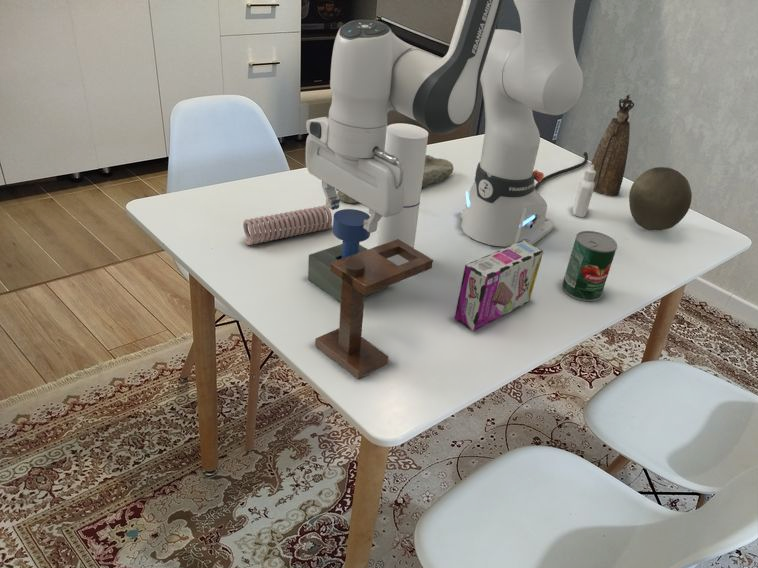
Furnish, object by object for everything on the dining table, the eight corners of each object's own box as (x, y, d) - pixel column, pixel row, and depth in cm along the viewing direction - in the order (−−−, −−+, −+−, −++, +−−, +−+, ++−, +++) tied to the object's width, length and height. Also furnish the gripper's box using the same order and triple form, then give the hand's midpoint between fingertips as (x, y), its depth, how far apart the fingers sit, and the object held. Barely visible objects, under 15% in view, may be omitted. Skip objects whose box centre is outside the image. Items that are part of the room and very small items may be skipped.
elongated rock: (324, 197, 146) (353, 217, 142) (324, 175, 142) (355, 195, 138) (433, 162, 168) (461, 178, 164) (436, 142, 164) (465, 158, 160)
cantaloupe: (620, 211, 163) (638, 153, 154) (676, 224, 162) (698, 166, 153) (619, 235, 152) (639, 173, 143) (679, 249, 151) (703, 188, 142)
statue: (588, 193, 169) (616, 94, 155) (582, 181, 175) (609, 85, 161) (620, 197, 171) (651, 100, 156) (613, 185, 177) (642, 90, 162)
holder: (351, 264, 122) (353, 240, 119) (388, 287, 118) (390, 263, 115) (307, 279, 116) (308, 254, 113) (344, 305, 111) (346, 280, 108)
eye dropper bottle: (565, 211, 158) (578, 163, 151) (578, 206, 161) (591, 159, 154) (579, 218, 156) (593, 170, 149) (592, 213, 159) (606, 166, 152)
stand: (384, 315, 111) (393, 228, 101) (426, 343, 106) (440, 256, 97) (314, 346, 101) (317, 253, 92) (357, 379, 96) (365, 285, 87)
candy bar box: (487, 278, 104) (545, 249, 115) (463, 264, 106) (522, 237, 117) (474, 334, 111) (530, 302, 122) (452, 320, 113) (509, 289, 124)
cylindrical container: (383, 270, 122) (396, 139, 108) (369, 251, 127) (380, 123, 112) (418, 266, 126) (435, 138, 111) (403, 248, 130) (418, 123, 116)
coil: (250, 228, 118) (337, 212, 129) (238, 215, 120) (325, 200, 131) (250, 250, 121) (335, 232, 132) (238, 236, 123) (323, 220, 134)
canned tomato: (575, 275, 133) (589, 226, 126) (608, 292, 129) (625, 243, 123) (554, 288, 127) (568, 237, 121) (588, 306, 124) (604, 255, 117)
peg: (350, 271, 120) (354, 206, 113) (373, 286, 117) (378, 220, 110) (323, 281, 116) (325, 214, 109) (346, 297, 113) (350, 229, 106)
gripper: (418, 158, 98) (407, 240, 106) (331, 113, 108) (327, 192, 116) (388, 164, 94) (379, 250, 102) (299, 117, 104) (297, 199, 112)
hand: (350, 218), depth 109 cm, fingers open, 8 cm apart
